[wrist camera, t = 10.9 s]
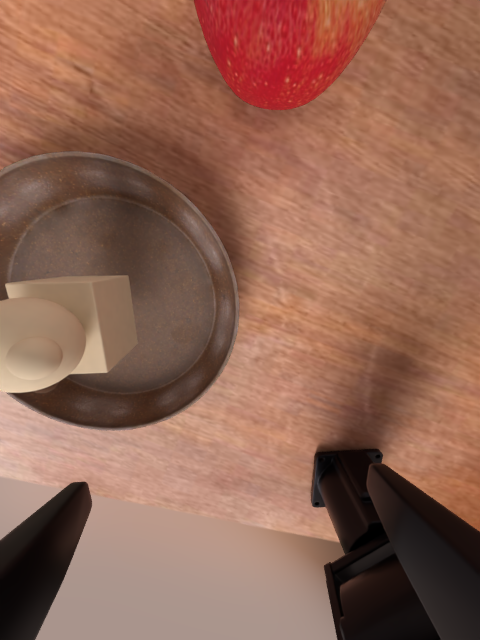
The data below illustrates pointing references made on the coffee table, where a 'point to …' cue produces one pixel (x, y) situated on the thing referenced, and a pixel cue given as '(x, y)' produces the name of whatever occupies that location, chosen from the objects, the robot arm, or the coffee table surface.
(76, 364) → the bear
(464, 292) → the coffee table surface
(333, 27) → the apple
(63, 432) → the coffee table surface
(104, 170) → the plant saucer
